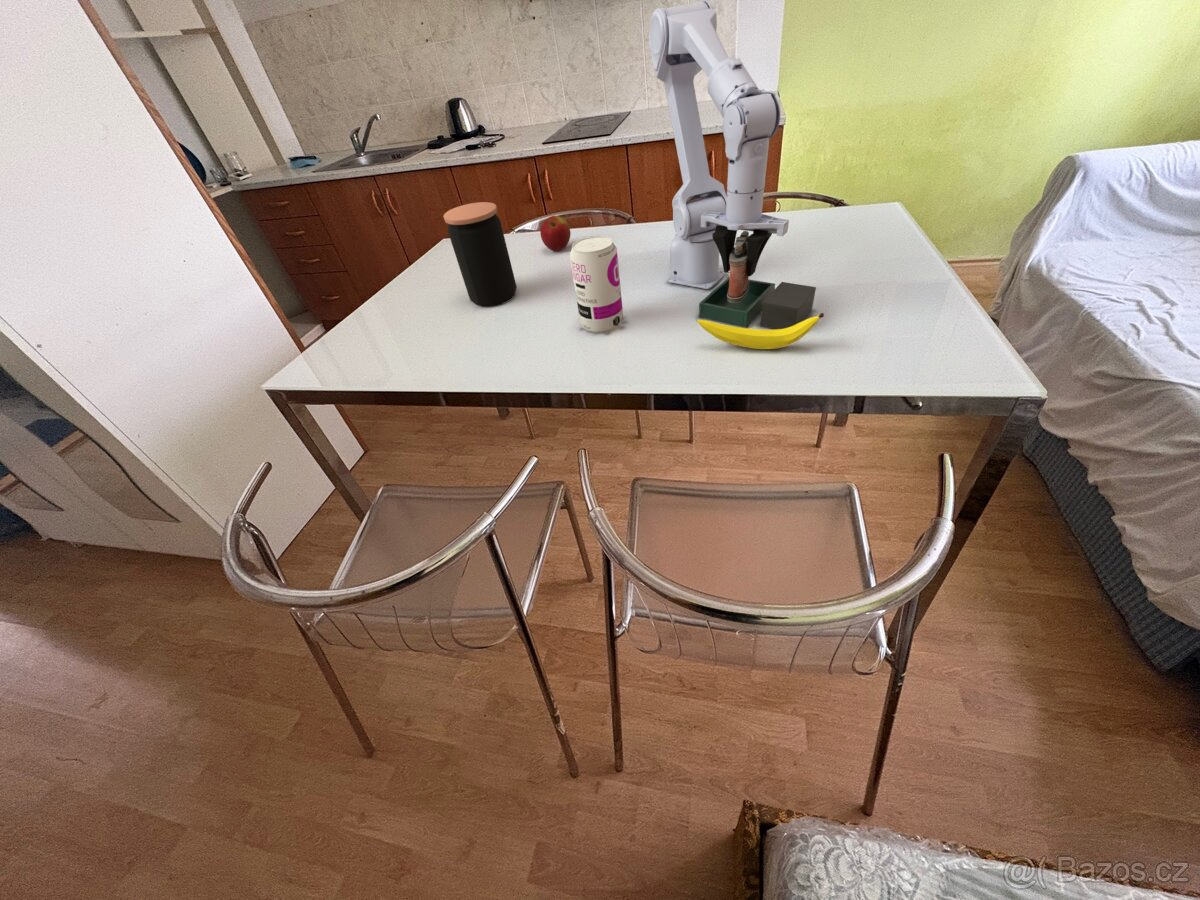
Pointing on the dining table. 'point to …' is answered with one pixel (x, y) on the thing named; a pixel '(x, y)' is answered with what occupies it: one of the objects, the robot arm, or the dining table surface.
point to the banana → (759, 334)
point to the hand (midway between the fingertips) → (739, 272)
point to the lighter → (738, 270)
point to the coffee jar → (481, 253)
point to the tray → (735, 304)
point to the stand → (787, 305)
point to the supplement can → (597, 283)
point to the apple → (555, 233)
